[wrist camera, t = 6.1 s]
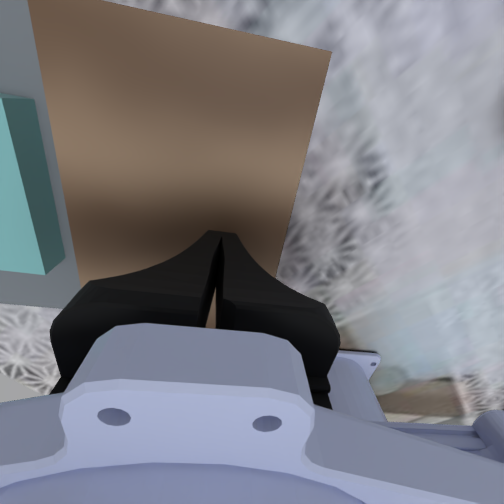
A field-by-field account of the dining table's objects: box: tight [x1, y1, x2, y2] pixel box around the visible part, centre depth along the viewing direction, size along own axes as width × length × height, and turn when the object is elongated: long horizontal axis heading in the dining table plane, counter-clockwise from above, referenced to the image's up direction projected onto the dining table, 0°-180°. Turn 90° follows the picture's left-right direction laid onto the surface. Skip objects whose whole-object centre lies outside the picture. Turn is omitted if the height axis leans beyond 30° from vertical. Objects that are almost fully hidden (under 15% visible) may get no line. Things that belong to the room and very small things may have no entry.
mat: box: [0, 0, 81, 309], centre depth 15 cm, size 18×11×1 cm, turn 171°
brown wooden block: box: [27, 0, 332, 329], centre depth 14 cm, size 16×10×4 cm, turn 171°
